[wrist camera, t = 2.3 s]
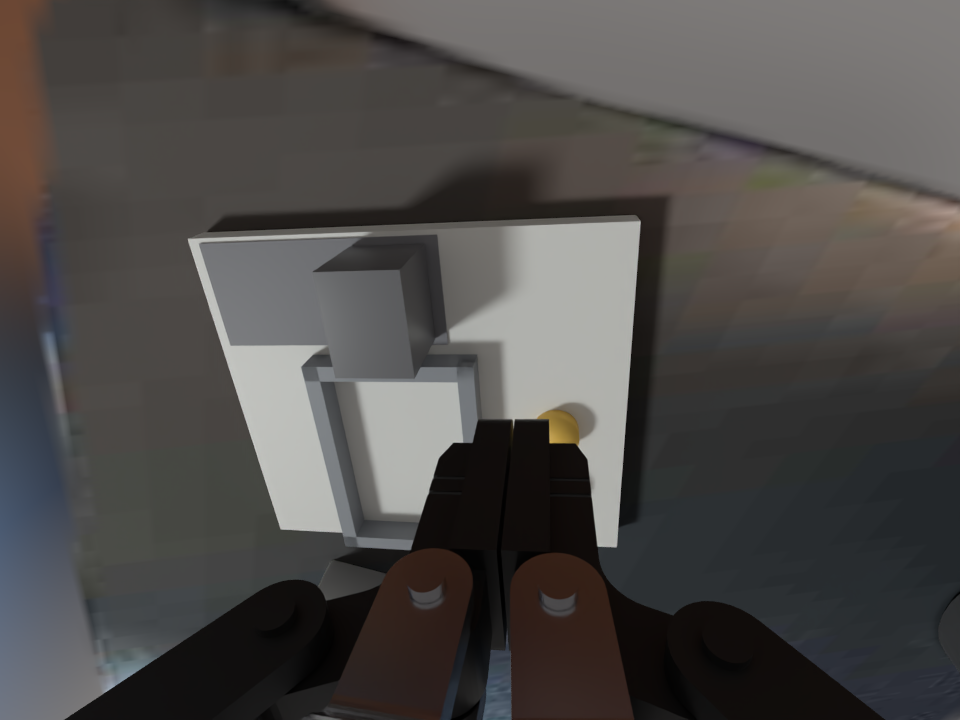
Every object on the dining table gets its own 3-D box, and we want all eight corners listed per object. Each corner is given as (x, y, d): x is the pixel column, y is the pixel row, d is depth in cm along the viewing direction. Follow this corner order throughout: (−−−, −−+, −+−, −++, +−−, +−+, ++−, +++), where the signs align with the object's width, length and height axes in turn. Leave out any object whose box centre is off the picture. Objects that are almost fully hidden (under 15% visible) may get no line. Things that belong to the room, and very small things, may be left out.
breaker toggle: (424, 243, 19) (399, 269, 16) (435, 338, 21) (414, 379, 18) (350, 246, 20) (311, 272, 17) (366, 339, 22) (335, 378, 18)
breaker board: (635, 214, 19) (646, 228, 17) (614, 529, 26) (619, 566, 24) (205, 232, 22) (167, 246, 20) (291, 513, 29) (269, 546, 27)
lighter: (397, 576, 30) (348, 721, 23) (393, 595, 31) (345, 740, 24) (283, 546, 30) (199, 681, 23) (282, 565, 31) (201, 701, 24)
